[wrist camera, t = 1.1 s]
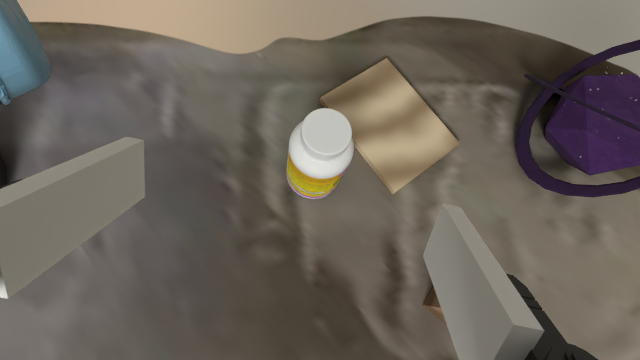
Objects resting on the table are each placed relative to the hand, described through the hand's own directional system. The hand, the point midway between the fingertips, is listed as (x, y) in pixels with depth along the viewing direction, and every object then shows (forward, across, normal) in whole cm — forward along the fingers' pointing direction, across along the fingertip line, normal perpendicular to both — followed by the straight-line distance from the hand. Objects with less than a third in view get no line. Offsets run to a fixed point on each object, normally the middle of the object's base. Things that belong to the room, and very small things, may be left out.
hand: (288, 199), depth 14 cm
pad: (+33, +9, -2) cm, 34 cm away
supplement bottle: (+26, 0, -9) cm, 28 cm away
